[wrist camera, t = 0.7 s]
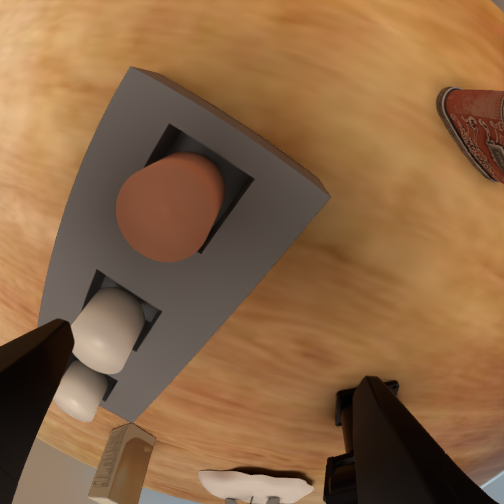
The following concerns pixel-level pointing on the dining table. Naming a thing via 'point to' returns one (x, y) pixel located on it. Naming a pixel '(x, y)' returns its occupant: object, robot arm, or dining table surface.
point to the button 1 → (81, 391)
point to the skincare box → (122, 466)
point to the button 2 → (107, 330)
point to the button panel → (187, 270)
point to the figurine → (253, 487)
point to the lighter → (476, 127)
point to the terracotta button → (170, 206)
